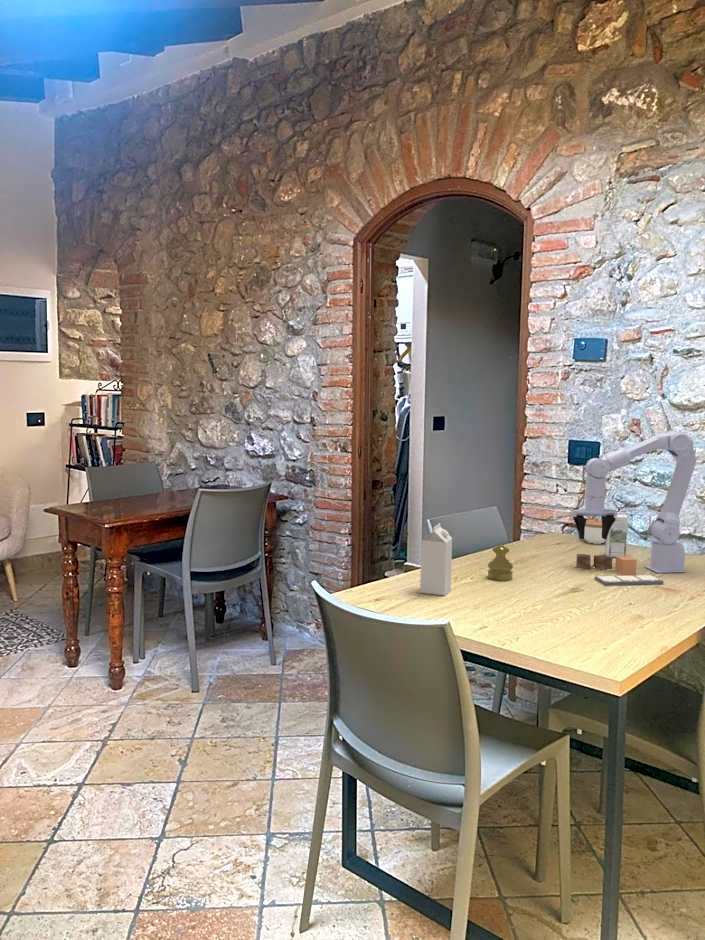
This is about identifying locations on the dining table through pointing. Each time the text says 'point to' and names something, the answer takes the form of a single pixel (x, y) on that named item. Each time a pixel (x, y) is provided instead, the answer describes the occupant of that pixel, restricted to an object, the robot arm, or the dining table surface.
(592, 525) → the lidded jar
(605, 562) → the walnut block
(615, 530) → the syrup box
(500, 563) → the olive green tiered piece
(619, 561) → the orange brown block
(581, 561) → the walnut block
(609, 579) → the board
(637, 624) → the dining table surface
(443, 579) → the milk carton
